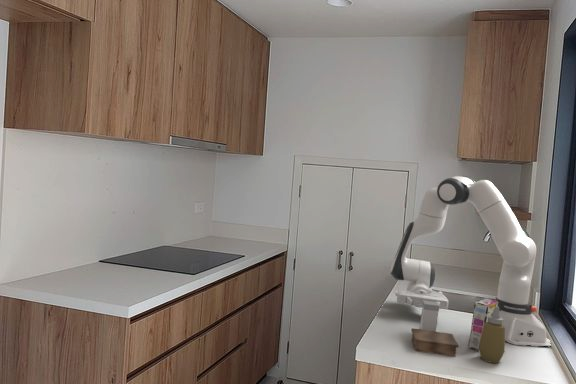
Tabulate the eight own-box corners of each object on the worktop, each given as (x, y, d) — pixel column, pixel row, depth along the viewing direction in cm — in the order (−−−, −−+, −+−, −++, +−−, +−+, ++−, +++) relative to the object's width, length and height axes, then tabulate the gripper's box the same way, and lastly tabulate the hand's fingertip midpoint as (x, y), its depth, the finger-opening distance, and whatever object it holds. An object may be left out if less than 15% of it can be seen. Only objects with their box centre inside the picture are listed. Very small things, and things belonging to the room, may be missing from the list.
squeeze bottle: (506, 361, 174) (514, 308, 173) (497, 367, 168) (505, 311, 167) (482, 353, 179) (489, 301, 178) (473, 358, 173) (480, 305, 172)
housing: (433, 333, 196) (437, 302, 195) (435, 338, 191) (439, 305, 190) (419, 331, 196) (422, 300, 196) (420, 336, 191) (424, 303, 191)
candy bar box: (482, 352, 181) (488, 305, 180) (467, 347, 184) (473, 301, 183) (492, 345, 189) (498, 300, 188) (479, 341, 192) (484, 297, 191)
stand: (450, 344, 185) (451, 333, 185) (457, 357, 173) (458, 345, 173) (410, 339, 186) (411, 328, 186) (414, 351, 175) (415, 339, 174)
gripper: (395, 285, 220) (398, 293, 206) (445, 292, 218) (451, 300, 204) (393, 299, 220) (396, 309, 207) (443, 307, 218) (449, 316, 204)
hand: (424, 305), depth 205 cm, fingers open, 8 cm apart
